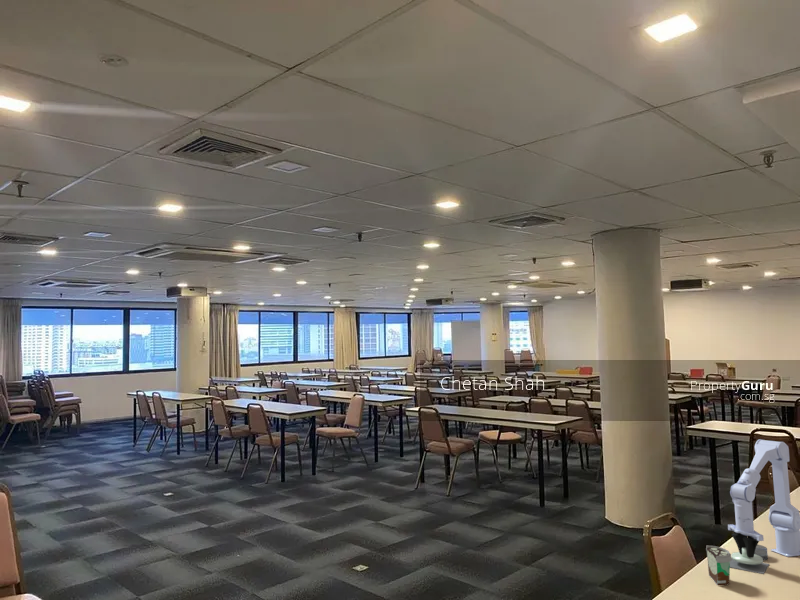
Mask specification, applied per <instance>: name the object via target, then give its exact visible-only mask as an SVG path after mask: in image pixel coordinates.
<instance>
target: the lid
mask: <svg viewBox="0 0 800 600" xmlns="http://www.w3.org/2000/svg"><path fill="white" fill-rule="evenodd" d="M730 554H731V558H732V559H733V560H735V561H737V562H740V563H744V564H751V565H758V564H762V563H764V560H763V558H762V557H760V556H758V555H755V554H754V557H751V558H749V557H748V556H747V551H746V547H742V554H740V552H739V551H737V552H733V553H730Z"/></svg>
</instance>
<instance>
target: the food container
mask: <svg viewBox="0 0 800 600" xmlns="http://www.w3.org/2000/svg"><path fill="white" fill-rule="evenodd" d="M705 551H706V558H707V559H706V560H707V570H708V576H709V578H710V579H711V578H712V579H713V580H714V581H713V580H712V579H711V580H712V581H713V582H714V583H715V584H716V586H717V585H724V586H728V585H730V580H731V579H730V574H731V573H730V571H731V570H730V569H731V568H730V561H731V560H732V556H731V554H732V553H730V551H729V550H727V549H726V548H722V547H720V546H716V545H706V548H705ZM727 584H728V585H727Z"/></svg>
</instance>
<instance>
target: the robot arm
mask: <svg viewBox="0 0 800 600" xmlns="http://www.w3.org/2000/svg"><path fill="white" fill-rule="evenodd" d="M754 452H755V455H754V456H753V459H752V461H751V464H750V466H749V468H745V469H744V470H743V472H742V474H741V475H740V477H739V478H738V481H737V482H736V483H734V484H732V485H731V486H730V489H729V490H730V491H729V495H730V497H731V499H732V503H733V504H734V516H735V518H734V519H735V524H733V523H732V524H730V523H729V524H727V530H728V531H732V532H733V533H731V537H732V538H733V540H734V542H735V543H736V544H735V545H736V547H737V549H738V552H740V554H742V547H746V551H747V556H748V557H749V558H751V557H754V553H755V549H756V546H757V544H758V545H759V542H764V539H765V538H764V535H763V534H761V533H760V532H758V531H756V530H755V525H754V514H753V513H754V512H753V501H754V500H755V497H756V491H757V490H756V489H757V488H756V487H757V485H758V484H759V482H760V481H761V478H762V477H761V474H760V473H761V471H762V470H763V469H764V467H765V465H766V464H767V463H768V462H770V463H771V469H772V478H773V480H772V482H773V491H774V493H773V495H774V504H772V505H770V506H769V513H768V522H769V523H770V525H772V528H773V529H774V530H775V531H774V535H775V545H776V546H775V547H776V548H771V549H770V551H771V552H774V553H777V554H780V555H782V556H784V557H788V558H790V557H798V556H800V510H799V509H798V508H796V507H795V506H794V505H793V504H792V502H791V494H790V493H791V492H790V479H789V469H788V468H789V467H788V463H789V462H790V449H789V445H788V444H787V443H785V442H784V441H775V440H765V439H761V438H760V439H757V440H756V442H755V444H754Z"/></svg>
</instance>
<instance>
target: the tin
mask: <svg viewBox="0 0 800 600" xmlns="http://www.w3.org/2000/svg"><path fill="white" fill-rule="evenodd" d="M754 554H755V555H758V556H760V557H762V558H763V561H767V560H768V557H769V555H768V548H767V546H764V545H761V544H759V543H758V544H757V546H756V549H755V553H754Z"/></svg>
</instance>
